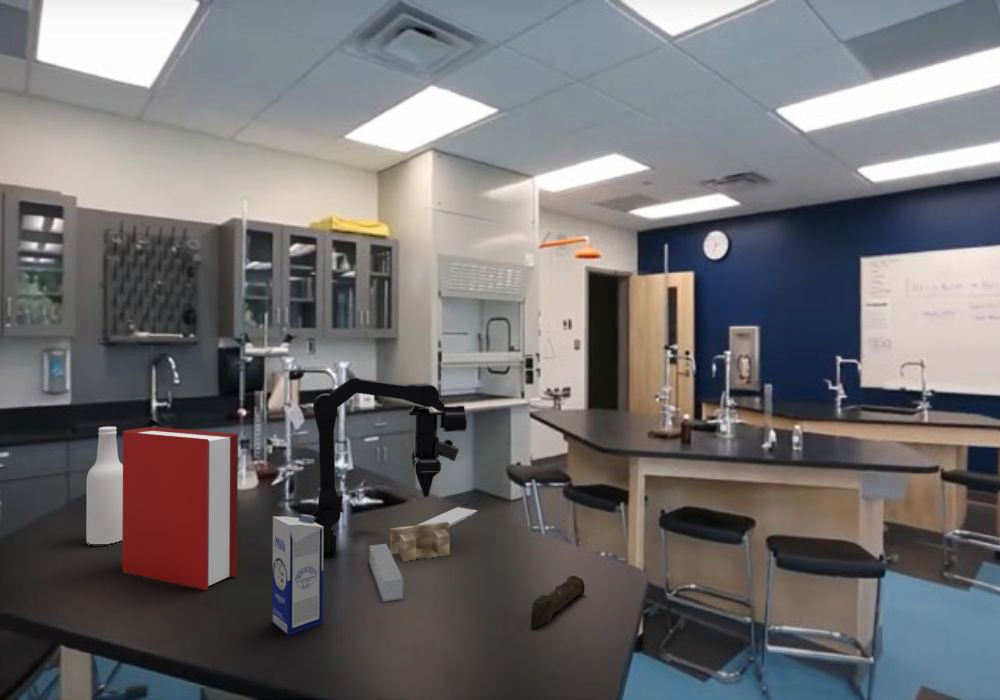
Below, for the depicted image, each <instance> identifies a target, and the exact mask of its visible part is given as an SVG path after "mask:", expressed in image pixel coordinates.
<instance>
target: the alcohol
mask: <svg viewBox="0 0 1000 700" xmlns="http://www.w3.org/2000/svg"><path fill="white" fill-rule="evenodd" d="M117 428H118V427H116V426H102V427H99V428H98V429H97V430H98V432H97V435H98V444H97V453H96V461H95V462H94V465H92V467H91V468H89V470H88V473H87V476H86V506H85V507H86V511H85V512H86V515H85V516H86V518H85V519H86V520H85V522H86V524H85V525H86V528H85V529H86V531H85V532H86V535H85V536H86V538H85V539H86V543H87V544H88V543H89V544H110V543H115V542H119V541H121V540H122V530H123V463H122V462H121V461H120V460H119V452H118V443H117V441H118V439H117ZM89 544H88V545H89Z"/></svg>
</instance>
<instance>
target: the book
mask: <svg viewBox="0 0 1000 700" xmlns="http://www.w3.org/2000/svg"><path fill="white" fill-rule="evenodd" d="M238 445H239V433H231V432H218V431H206V430H197V429H196V430H195V429H194V430H193V429H183V428H182V429H181V428H170V427H156V426H154V427H153V426H152V427H142V428H140V427H139V428H135V429H126V430H124V431H122V465H123V530H122V542H121V543H122V544H121V545H122V548H121V551H122V554H121V555H122V557H121V558H122V561H121V563H122V565H121V567H122V570H121V572H122V571H125V572H129V573H133V574H137V575H142V576H147V577H151V578H156V579H160V580H164V581H169V582H174V583H178V584H183V585H188V586H193V587H196V588H200V589H204V590H207V591H208V589H209V588H208V587H209V586H211V585H214V584H216V583H218V582H220V581H222V580H225V579H226V578H229V577H232V578H238V490H239V489H238V486H239V484H238V482H239V481H238V478H239V477H238V475H239V474H238V472H239V471H238V467H239V465H238V462H239V461H238V460H239V459H238V455H239V454H238V453H239V451H238V450H239V446H238Z"/></svg>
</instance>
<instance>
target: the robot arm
mask: <svg viewBox="0 0 1000 700" xmlns="http://www.w3.org/2000/svg"><path fill="white" fill-rule="evenodd" d="M355 394H362V395H369V396H377V397H383V398H391V399H399V400H404V401H406V402H409V403H412V404H415V405H413V406H412V408H410V409H409V410H408V411H407V414H408V415H409V416H414V435H413V437H414V438H413V439H414V448H413V449H412V450H411V462H412V464H413V465H412V466H413V468H414V472H415V475H416V479H417V480H418V483H419V486H420V488H421V492H422V495H423V497H424V498H426V497H427V498H428V497H429V495H430V491H431V487H432V483H433V480H434V477H436V476H437V475H438V474H440V473H441V471H442V462H441V461H440V460H439V459H438V458H439V457H443V458H446V459H449V460H450V461H453V462H455V461H456V460H457V455H458V453H459V450H460V449H459V448H458V447H457V446H455V445H454V444H453V441H452V440H451V439H445V440H444V441H440V439H439V437H438V427H439V428H440V429H442V431H443V433H447V432H448V433H450V432H451V433H452V432H454V433H457V432H459V433H460V432H461V433H462V432H466V431H467V424H468V423H467V421H468V419H467V415H466V410H465V408H466V407H465V406H464V405H456V406H452V405H451V406H448V405H447V406H445V404H444V403H443V401H442V400H441V399H440V392H439V390H438V389H437V387H436V386H434V385H432V384H429V383H408V384H407V383H406V384H402V383H394V382H389V381H387V382H386V381H379V380H374V379H365V378H360V377H357V376H352V377H349V378H348V379H347V381H345V382H343V383H342V384H341V385H339V386H338V387H336V388H334V389H333V390H332V391H330V392H329V393H325V392H324V393H321V394H319V395H317V397H316V398H315V400H314V402H313V407H312V410H313V414H314V419H315V423H316V427H317V431H318V448H319V451H318V452H319V455H318V456H319V483H320V485H319V487H320V489H319V493H318V494H319V495H318V501H317V507H316V510H315V511H314V512H313V513H312V514H310V515H311V516H314V517H315V520H314V522H315V523H317V524H319V525H321V526H323V559H326V558H334V557H336V554H335V553H336V552H337V534H336V532H335V530H334V526H335V525H336V524H337V523H338V522H339V521H340V519H341V515H342V514H343V513H344V504H343V499H344V491H343V490H338V489H337V484H336V462H335V461H336V459H335V458H336V456H335V451H336V450H335V428H336V427H335V426H336V421H337V414H338V408H339V407H340V406H342V405H343V404H344V403H345V402H346V401H348V400H349V399H351V398H352V397H353V396H355ZM416 405H418V406H422V407H421V408H418V407H417V406H416ZM429 408H433V409H434V410H436V411H430V409H429Z"/></svg>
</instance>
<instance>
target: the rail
mask: <svg viewBox="0 0 1000 700" xmlns="http://www.w3.org/2000/svg"><path fill="white" fill-rule="evenodd" d="M369 565H370V569H371V572H372V575H373V577H374V580H375V583H376V586H377V589H378V591H379V594H380V597H381V600H382V602H383V603H385V602H391V601H399V600H403V599H404V578H403V576H402V573H401V571H400V569H399V567H398V565H397V563H396V561H395V559H394V556H393V554H391V552H390V547H389V546H388V544H387V543H382V544H371V545H369Z"/></svg>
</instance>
